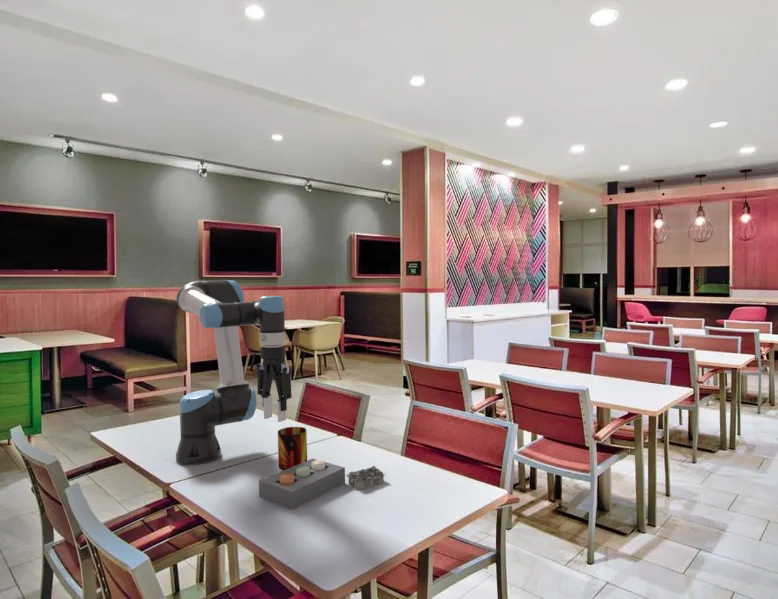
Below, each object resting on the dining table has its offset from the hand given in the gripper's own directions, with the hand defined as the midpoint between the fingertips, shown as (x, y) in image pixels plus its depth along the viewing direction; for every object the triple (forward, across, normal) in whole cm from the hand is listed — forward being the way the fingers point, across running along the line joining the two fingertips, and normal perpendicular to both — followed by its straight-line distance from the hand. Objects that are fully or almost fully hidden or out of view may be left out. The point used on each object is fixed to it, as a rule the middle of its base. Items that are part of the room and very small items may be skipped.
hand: (274, 419), depth 164 cm
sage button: (+17, +12, 0) cm, 20 cm away
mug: (+20, -4, +12) cm, 24 cm away
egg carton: (+20, +24, +15) cm, 35 cm away
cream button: (+17, +12, +6) cm, 21 cm away
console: (+20, +12, 0) cm, 23 cm away
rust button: (+17, +12, -7) cm, 21 cm away
